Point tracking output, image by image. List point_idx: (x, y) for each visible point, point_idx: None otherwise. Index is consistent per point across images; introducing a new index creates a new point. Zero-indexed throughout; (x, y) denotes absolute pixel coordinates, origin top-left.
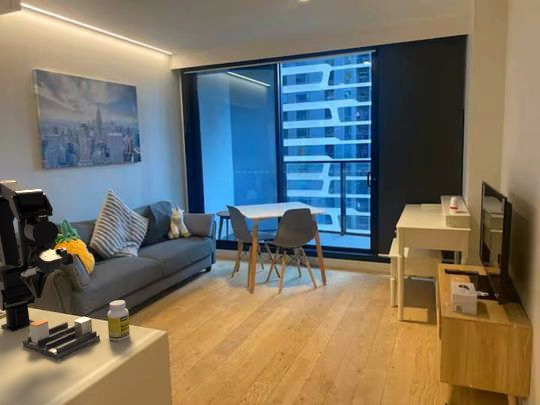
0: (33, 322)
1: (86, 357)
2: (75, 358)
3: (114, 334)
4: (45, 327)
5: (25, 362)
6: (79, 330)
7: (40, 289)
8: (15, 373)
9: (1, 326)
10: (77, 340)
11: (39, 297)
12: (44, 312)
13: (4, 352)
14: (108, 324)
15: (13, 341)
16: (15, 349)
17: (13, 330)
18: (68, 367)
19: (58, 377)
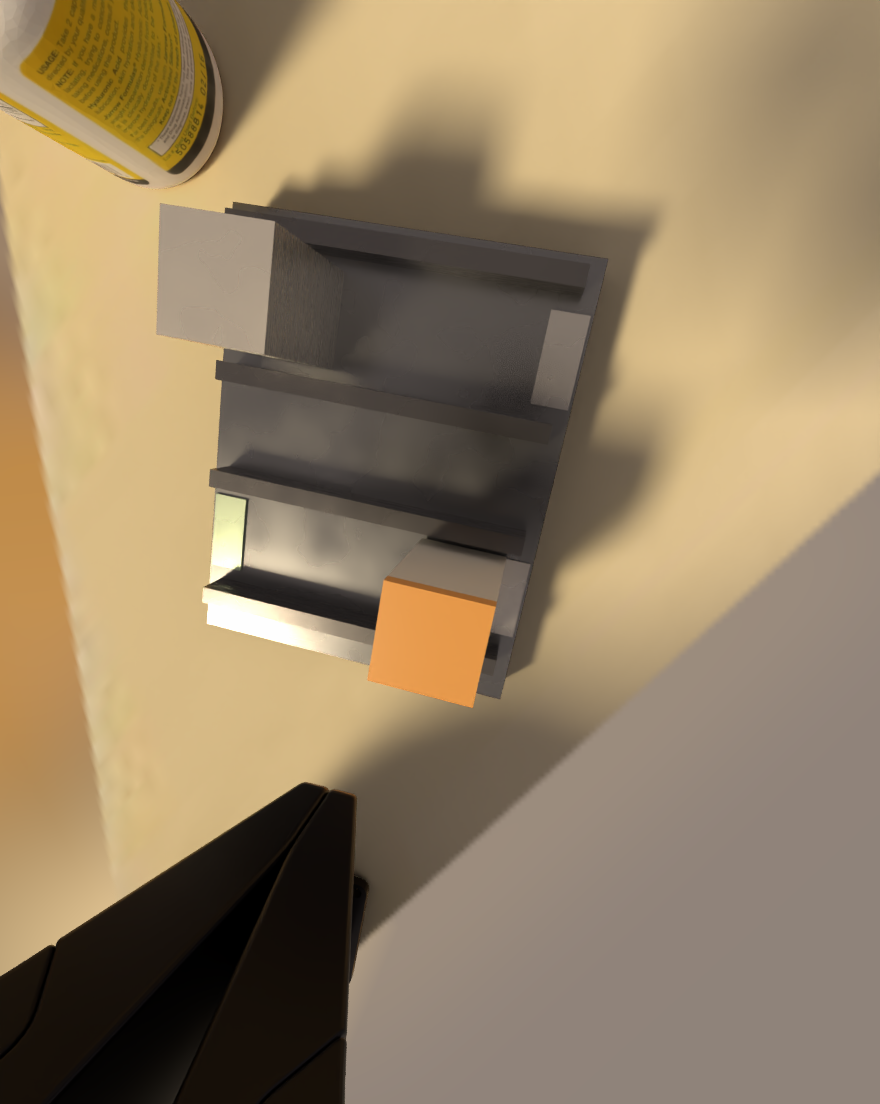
0: (448, 690)
1: (502, 75)
2: (539, 157)
3: (187, 29)
4: (423, 571)
5: (679, 489)
6: (311, 288)
7: (223, 899)
8: (835, 423)
9: (351, 977)
10: (405, 237)
11: (321, 792)
12: (127, 892)
13: (594, 731)
14: (127, 63)
15: (463, 789)
16: (543, 698)
17: (365, 884)
18: (677, 78)
19: (841, 6)
